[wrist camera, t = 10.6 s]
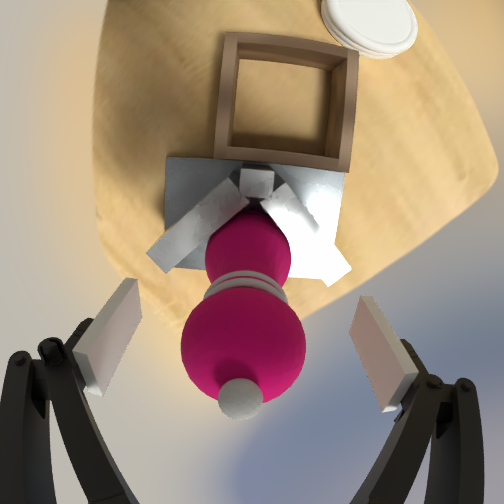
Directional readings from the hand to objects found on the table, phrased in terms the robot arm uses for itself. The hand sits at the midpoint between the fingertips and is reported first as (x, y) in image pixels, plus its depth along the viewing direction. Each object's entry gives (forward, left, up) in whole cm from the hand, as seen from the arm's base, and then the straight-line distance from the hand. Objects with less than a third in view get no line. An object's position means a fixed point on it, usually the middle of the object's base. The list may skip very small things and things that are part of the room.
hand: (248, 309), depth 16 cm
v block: (-2, 0, -14) cm, 14 cm away
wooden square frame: (-13, +2, -14) cm, 19 cm away
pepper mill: (0, 0, -13) cm, 13 cm away
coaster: (-25, +10, -14) cm, 31 cm away
